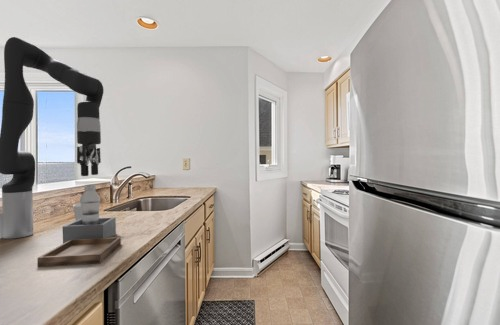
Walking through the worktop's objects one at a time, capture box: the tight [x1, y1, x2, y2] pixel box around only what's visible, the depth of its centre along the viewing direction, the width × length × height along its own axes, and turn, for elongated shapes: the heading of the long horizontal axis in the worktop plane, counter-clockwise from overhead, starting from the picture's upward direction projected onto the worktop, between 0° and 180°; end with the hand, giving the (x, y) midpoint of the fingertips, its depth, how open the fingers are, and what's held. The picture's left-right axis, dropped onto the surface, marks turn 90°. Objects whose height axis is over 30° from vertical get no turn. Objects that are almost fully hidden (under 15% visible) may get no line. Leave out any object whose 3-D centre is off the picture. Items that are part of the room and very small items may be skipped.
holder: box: [62, 217, 117, 244], centre depth 104 cm, size 13×13×6 cm
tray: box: [37, 236, 122, 268], centre depth 87 cm, size 16×18×2 cm
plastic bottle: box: [79, 184, 101, 225], centre depth 104 cm, size 6×7×20 cm
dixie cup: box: [72, 202, 82, 221], centre depth 126 cm, size 8×8×10 cm
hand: (89, 175), depth 104 cm, fingers open, 8 cm apart
